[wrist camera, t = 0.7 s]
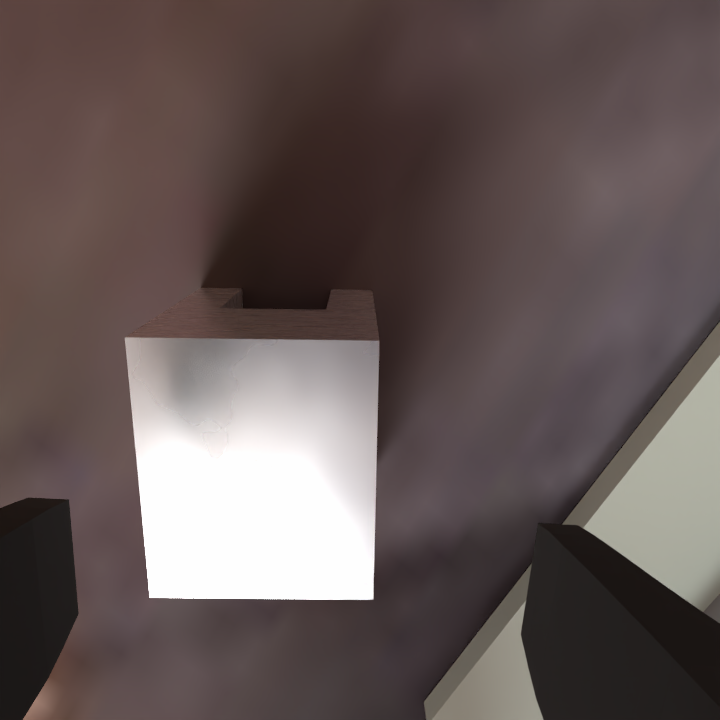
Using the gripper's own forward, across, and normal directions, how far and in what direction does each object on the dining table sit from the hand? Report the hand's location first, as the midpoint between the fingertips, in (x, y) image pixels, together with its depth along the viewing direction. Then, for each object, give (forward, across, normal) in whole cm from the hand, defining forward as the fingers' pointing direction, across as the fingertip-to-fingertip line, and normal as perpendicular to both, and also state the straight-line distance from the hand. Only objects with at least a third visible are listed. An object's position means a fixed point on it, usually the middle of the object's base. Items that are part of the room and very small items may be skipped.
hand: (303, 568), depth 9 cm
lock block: (+10, +1, 0) cm, 10 cm away
